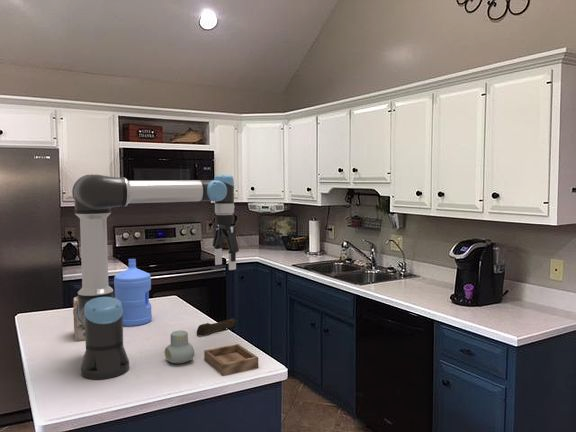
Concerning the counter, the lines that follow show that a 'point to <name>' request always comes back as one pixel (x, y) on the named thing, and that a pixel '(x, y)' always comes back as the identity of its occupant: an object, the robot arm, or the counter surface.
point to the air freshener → (179, 348)
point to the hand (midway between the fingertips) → (225, 267)
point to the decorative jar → (77, 323)
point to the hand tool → (215, 327)
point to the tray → (230, 359)
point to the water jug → (134, 295)
